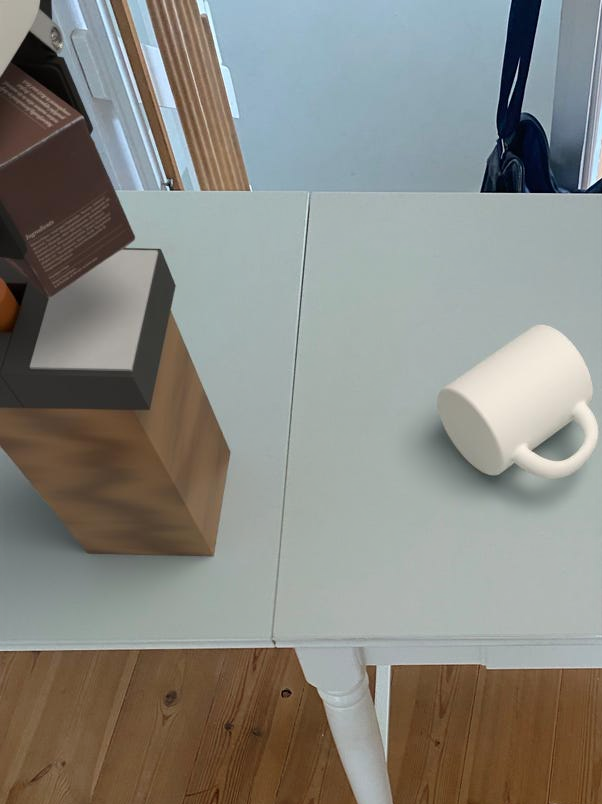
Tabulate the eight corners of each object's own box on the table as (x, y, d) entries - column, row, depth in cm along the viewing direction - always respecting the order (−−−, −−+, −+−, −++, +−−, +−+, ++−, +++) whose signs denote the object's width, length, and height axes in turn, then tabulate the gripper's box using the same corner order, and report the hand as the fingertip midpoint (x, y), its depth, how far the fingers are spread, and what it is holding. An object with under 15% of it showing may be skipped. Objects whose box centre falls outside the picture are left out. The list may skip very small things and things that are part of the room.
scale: (-49, 406, 53) (-80, 370, 50) (-9, 281, 57) (-35, 241, 54) (150, 410, 53) (131, 374, 50) (176, 285, 57) (160, 245, 54)
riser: (87, 553, 69) (-33, 407, 53) (111, 448, 73) (6, 282, 57) (213, 556, 69) (133, 410, 53) (230, 451, 73) (160, 285, 57)
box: (140, 242, 48) (87, 115, 41) (49, 303, 46) (-23, 180, 39) (72, 188, 50) (10, 57, 43) (-19, 245, 48) (-98, 117, 41)
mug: (437, 433, 74) (434, 369, 67) (524, 372, 77) (530, 304, 70) (533, 525, 71) (540, 468, 63) (621, 458, 73) (637, 396, 66)
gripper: (-188, -400, 32) (29, 71, 48) (-480, -144, 26) (-114, 306, 42) (4, -379, 32) (159, 89, 48) (-242, -113, 25) (35, 330, 41)
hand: (31, 188), depth 45 cm, fingers closed on box, 8 cm apart
